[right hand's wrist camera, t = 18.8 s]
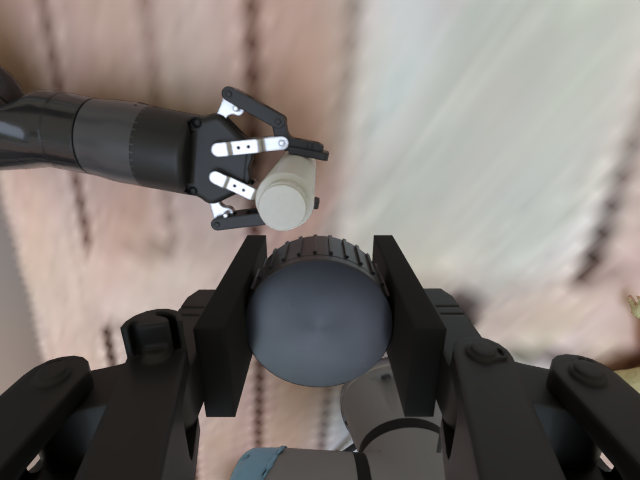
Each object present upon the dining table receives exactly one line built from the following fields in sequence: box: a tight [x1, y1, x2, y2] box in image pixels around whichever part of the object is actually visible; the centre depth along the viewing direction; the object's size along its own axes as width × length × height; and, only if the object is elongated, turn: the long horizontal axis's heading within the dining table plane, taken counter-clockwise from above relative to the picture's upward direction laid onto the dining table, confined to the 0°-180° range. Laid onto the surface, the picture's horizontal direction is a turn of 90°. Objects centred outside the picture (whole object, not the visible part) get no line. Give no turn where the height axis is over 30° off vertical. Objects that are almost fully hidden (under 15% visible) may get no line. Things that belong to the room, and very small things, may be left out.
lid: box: [245, 235, 393, 387], centre depth 11 cm, size 5×5×2 cm
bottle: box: [255, 151, 316, 231], centre depth 31 cm, size 4×4×18 cm
